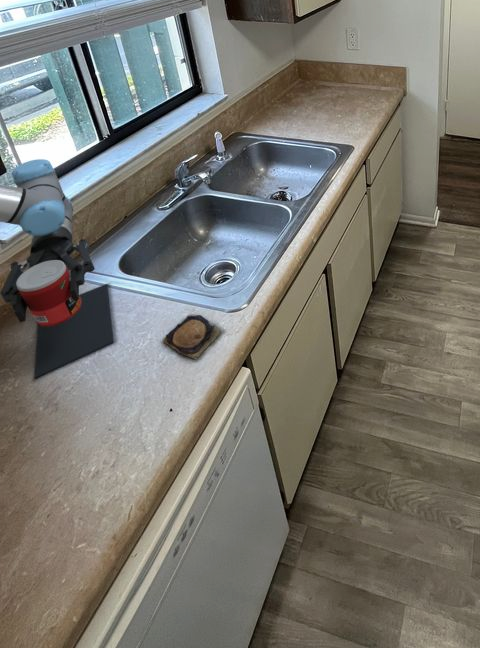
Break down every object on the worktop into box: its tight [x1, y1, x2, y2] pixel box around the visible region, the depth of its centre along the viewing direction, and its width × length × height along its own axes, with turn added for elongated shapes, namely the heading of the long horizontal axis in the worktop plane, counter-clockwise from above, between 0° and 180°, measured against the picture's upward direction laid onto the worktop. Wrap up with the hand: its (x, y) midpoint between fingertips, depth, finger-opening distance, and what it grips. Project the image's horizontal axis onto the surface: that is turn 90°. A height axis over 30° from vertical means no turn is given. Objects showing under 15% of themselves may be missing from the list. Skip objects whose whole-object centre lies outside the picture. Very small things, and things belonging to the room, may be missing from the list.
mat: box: [34, 283, 115, 379], centre depth 102 cm, size 14×20×1 cm
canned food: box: [16, 260, 81, 327], centre depth 90 cm, size 8×8×11 cm
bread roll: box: [163, 314, 222, 360], centre depth 98 cm, size 11×8×4 cm
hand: (48, 305), depth 86 cm, fingers closed on canned food, 8 cm apart
